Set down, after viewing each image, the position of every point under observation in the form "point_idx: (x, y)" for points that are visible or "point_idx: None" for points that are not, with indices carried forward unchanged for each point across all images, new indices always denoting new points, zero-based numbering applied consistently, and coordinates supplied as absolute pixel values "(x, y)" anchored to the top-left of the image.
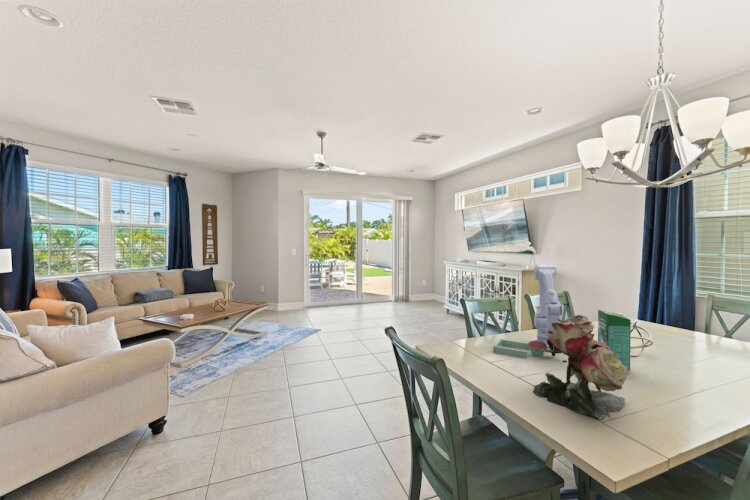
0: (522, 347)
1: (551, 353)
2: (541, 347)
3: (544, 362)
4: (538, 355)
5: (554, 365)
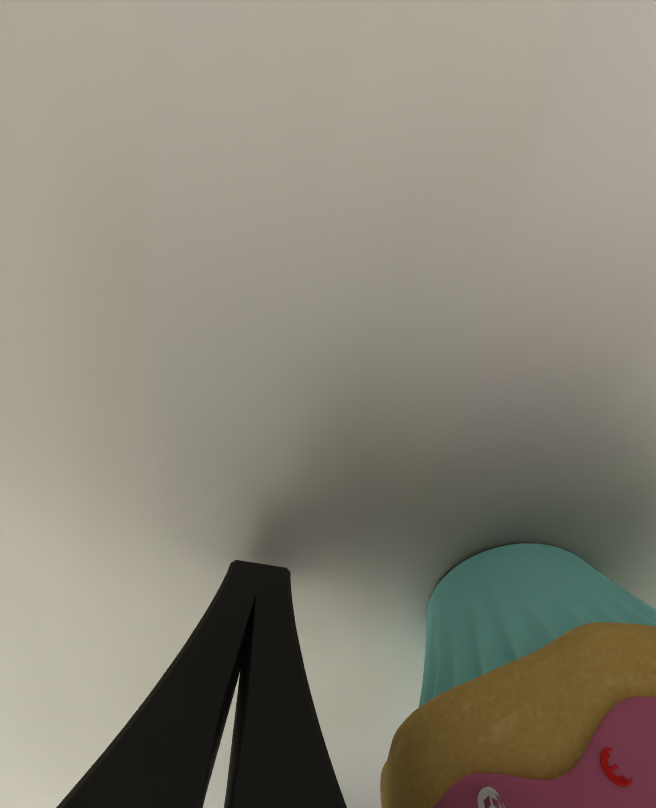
0: None
1: (291, 608)
2: (633, 744)
3: (502, 202)
4: (528, 551)
5: (280, 7)
